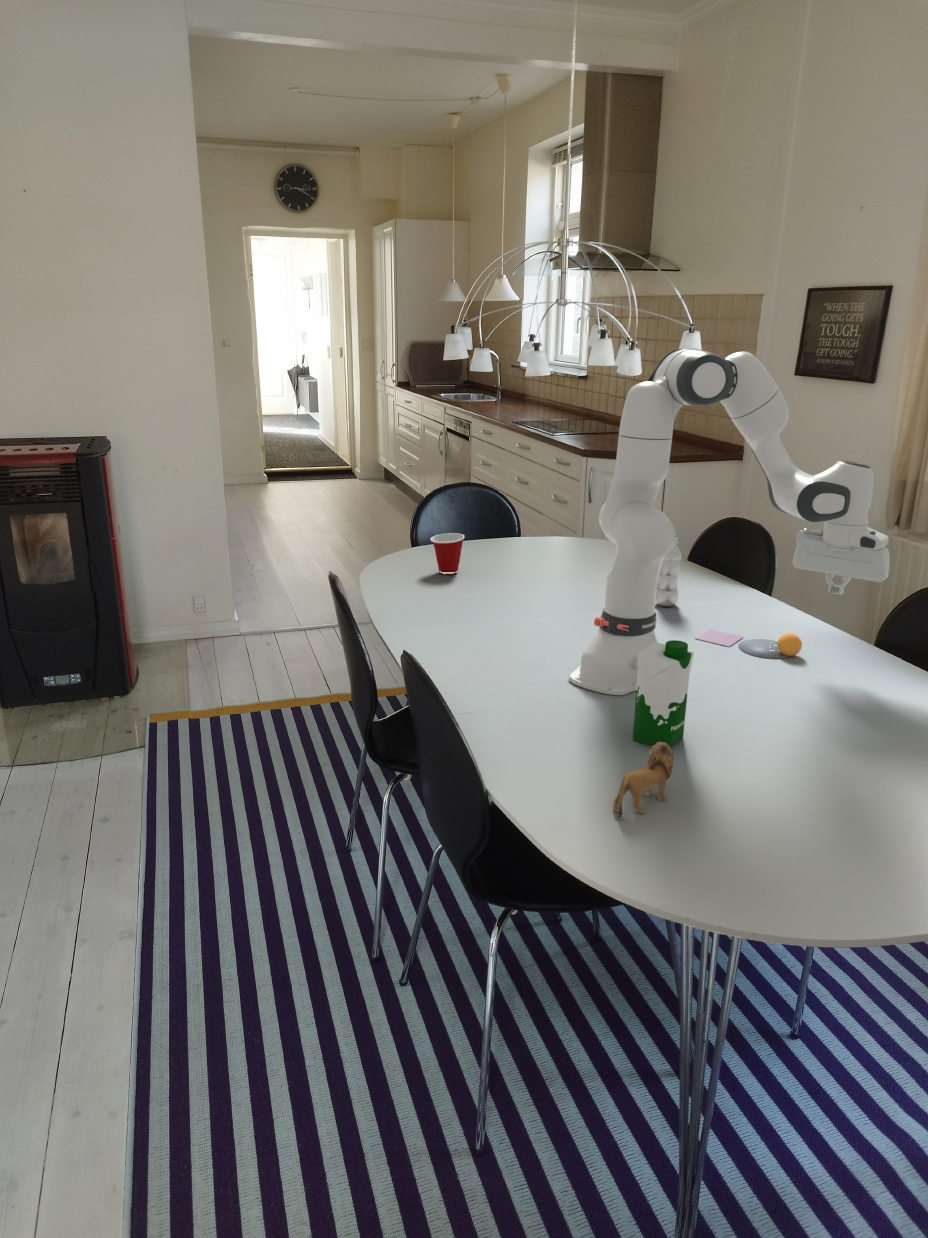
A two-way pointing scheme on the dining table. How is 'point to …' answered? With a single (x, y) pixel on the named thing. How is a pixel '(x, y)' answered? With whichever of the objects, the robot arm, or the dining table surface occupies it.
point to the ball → (789, 644)
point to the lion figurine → (647, 777)
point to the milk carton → (662, 693)
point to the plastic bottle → (669, 578)
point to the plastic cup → (448, 551)
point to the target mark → (761, 648)
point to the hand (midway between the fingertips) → (835, 593)
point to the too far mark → (719, 637)
